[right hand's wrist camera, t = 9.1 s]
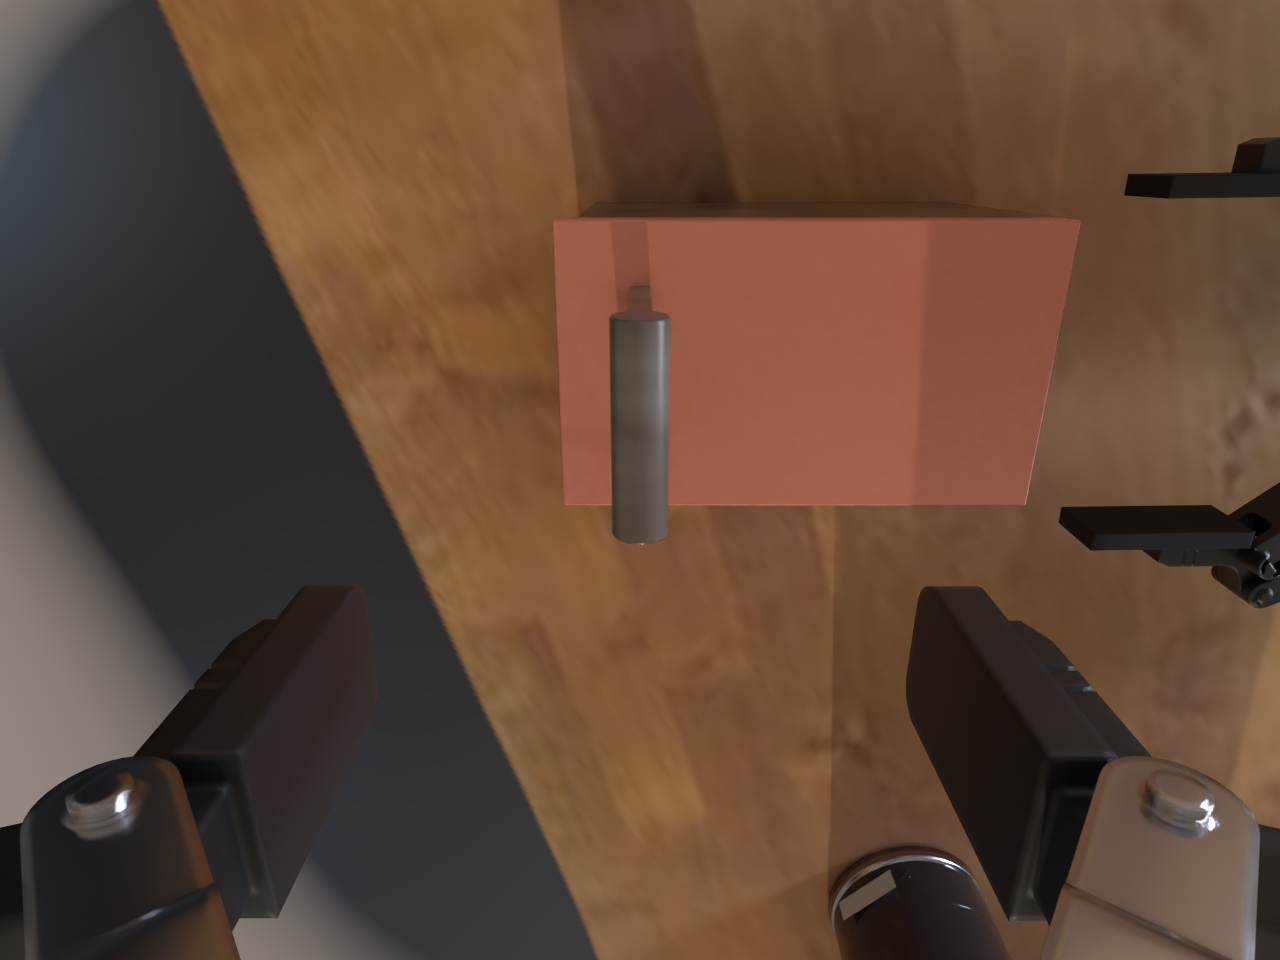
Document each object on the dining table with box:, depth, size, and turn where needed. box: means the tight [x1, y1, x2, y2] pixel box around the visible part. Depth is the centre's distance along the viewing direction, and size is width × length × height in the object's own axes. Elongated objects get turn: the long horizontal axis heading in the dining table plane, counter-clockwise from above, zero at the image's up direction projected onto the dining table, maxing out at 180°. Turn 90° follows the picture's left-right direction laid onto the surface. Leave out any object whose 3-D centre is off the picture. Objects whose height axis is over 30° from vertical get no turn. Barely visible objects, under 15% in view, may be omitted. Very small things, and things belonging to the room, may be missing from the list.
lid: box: [553, 218, 1081, 544], centre depth 24 cm, size 16×10×8 cm, turn 90°
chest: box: [579, 203, 1058, 218], centre depth 32 cm, size 16×10×10 cm, turn 90°
